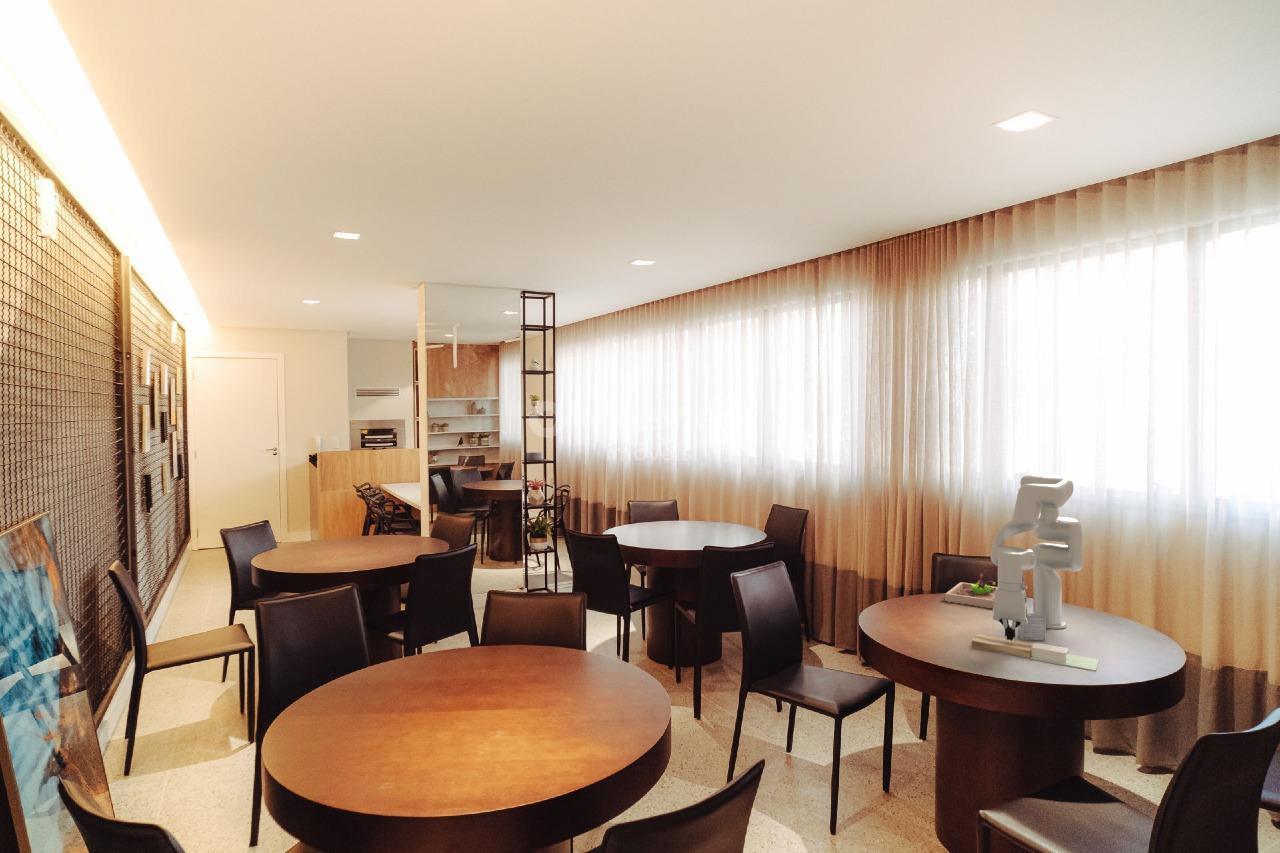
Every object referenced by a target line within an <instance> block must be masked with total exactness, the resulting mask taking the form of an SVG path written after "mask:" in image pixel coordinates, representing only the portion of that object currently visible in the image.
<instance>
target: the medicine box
mask: <svg viewBox="0 0 1280 853" xmlns="http://www.w3.org/2000/svg"><path fill="white" fill-rule="evenodd" d="M1027 621H1028V624H1027V625H1019V626H1018V627H1017V636H1018V637H1019V638H1020V639H1021V640H1023V641H1032V640H1033V641H1046V639H1047V638H1046V637H1047V636H1046V632H1047V631H1046V630H1047V628H1046V617H1044V616H1043V615H1041V614H1033V613H1028V612H1027Z"/></svg>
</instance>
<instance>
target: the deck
mask: <svg viewBox="0 0 1280 853" xmlns="http://www.w3.org/2000/svg"><path fill="white" fill-rule="evenodd" d="M1034 643H1035V642H1028V641H1025V640H1023V641H1021V640H1017V639H1013V640H1012V641H1011V640H1010V639H1009V640H1007V637H1005V638H1004V637H1000V636H995V635H994V636H993V635H989V634H983V633H982V634H981V633H977V634H976V635H975V637H973V639H972V640H971V649H972V648H973V649H978V650H983V651H988V652H994V653H999V654H1004V655H1008V656H1009V655H1010V656H1016V657H1021V658H1027V659H1031V658H1032V656H1031V647H1032V645H1033V644H1034Z"/></svg>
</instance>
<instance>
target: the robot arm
mask: <svg viewBox="0 0 1280 853" xmlns="http://www.w3.org/2000/svg"><path fill="white" fill-rule="evenodd" d="M1019 483H1020V487H1019V488H1018V491H1017V496H1016V500H1015V505H1014V509H1013V513H1012V514H1013V515H1012V517H1011V519H1010V520H1009V521H1008V522H1006V523H1005V524H1003V525H1002V526H1001V527H1000V528H999V529H998V530H997V532H996V533H995V535H994V536H993V540H992V545H991V549H990V560H991V563H992V564H994V565H995V566H997V587H998V588H996V591H995V596H994V606H993V609H992V612H993V613H992V614H993V616H992V620H994V621H996V622H998V623H1000V624H1001V625H1002V626H1003V627H1004V637H1005V638H1006V639H1007V640H1009V639H1010V640H1011V641H1012V640H1014V639H1015V638H1016V629H1017V628H1018V626H1019V625H1027V624H1028V621H1027V613H1028V601H1027V595H1026V590H1028V585H1027V584H1024V582H1023V571H1029V570H1032V574H1033V575H1032V576H1033V578H1032V579H1033V580H1032V582H1033V586H1032V587H1033V589H1032V590H1033V593H1032V594H1033V601H1032V602H1033V604H1032V605H1033V611H1032V612H1033V613H1032V614H1041V615H1043V616H1044V617H1046V629H1053V630H1054V629H1055V630H1057V629H1058V630H1060V629H1065V628H1067V623H1066V622H1065V621H1064V620H1062V617H1063V616H1062V614H1063V613H1062V611H1063V610H1062V602H1063V601H1062V598H1063V595H1062V592H1063V591H1062V587H1063V586H1062V585H1063V584H1062V582H1063V581H1062V578H1061V576H1060V575H1059V573H1058V572H1057V571H1056V570H1061V571H1067V572H1079V571H1081V570H1082V568H1083V567H1084V542H1083V541H1084V538H1083V537H1084V536H1083V526H1082V524H1081V522H1080V521H1079V520H1077V519H1075V518H1072V517H1061V516H1060V515H1059V509H1060V508H1062V507H1063V506H1064V505H1065V504H1066V503H1067V502H1068V501H1069V500H1070V499H1071V498H1072V496H1073V493H1074V483H1073V481H1072V480H1071V478H1069V477H1067V476H1059V475H1041V474H1028V475H1024V476H1022V477H1021V478H1020V482H1019ZM1029 531H1034V536H1035V537H1036V538H1037V539H1039V540H1041V541H1046V542H1038V543H1035V544H1034V545H1032V546H1031V548H1027V547H1026V548H1024V547H1017V546H1009V545H1005V543H1006V542H1007V541H1008V540H1009V539H1010V538H1011V537H1013V536H1016V535H1018V534H1022V533H1026V532H1029ZM1048 542H1049V543H1048ZM1051 542H1056V543H1051ZM1057 543H1058V544H1057ZM1059 543H1062V544H1059ZM1063 543H1064V544H1063ZM1022 590H1024V591H1022ZM1009 620H1010V621H1011V626H1010V622H1009Z"/></svg>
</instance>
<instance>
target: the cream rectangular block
mask: <svg viewBox="0 0 1280 853" xmlns="http://www.w3.org/2000/svg"><path fill="white" fill-rule="evenodd" d="M1033 643H1034V644H1033V645H1032V647H1031V657H1032V656H1034V657H1039V658H1045V659H1050V660H1055V661H1061V662H1067V660H1068V657H1069V651H1070V650H1069V648H1068V647H1062V646H1057V645H1051V644H1045V643H1039V642H1033Z"/></svg>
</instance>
